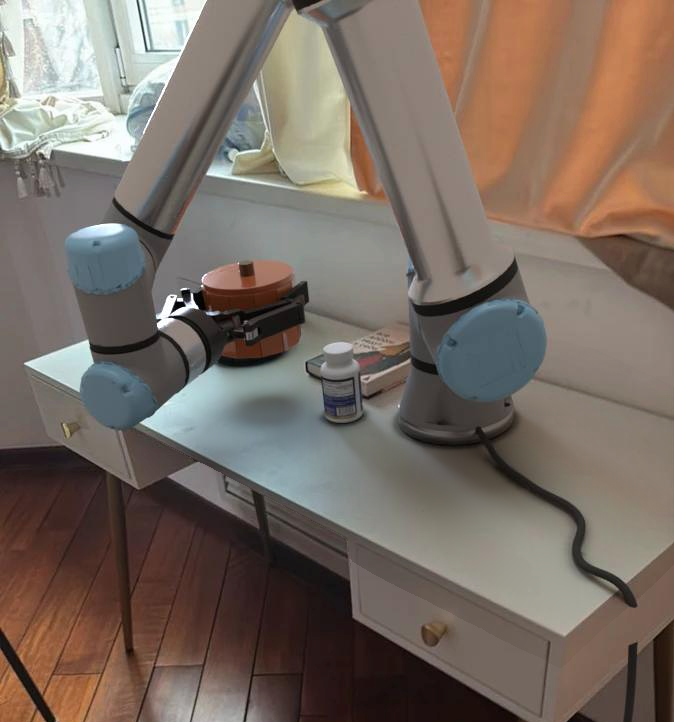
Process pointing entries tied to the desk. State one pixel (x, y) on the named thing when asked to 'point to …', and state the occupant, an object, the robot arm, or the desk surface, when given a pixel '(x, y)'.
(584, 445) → the desk surface
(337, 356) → the pill bottle
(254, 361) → the black flanged round holder
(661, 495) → the desk surface
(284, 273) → the lidded pot
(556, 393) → the desk surface
